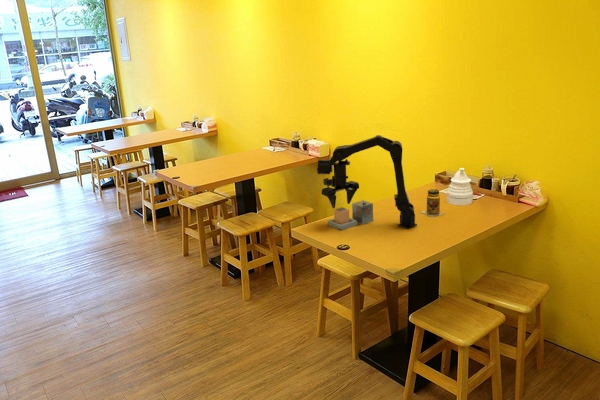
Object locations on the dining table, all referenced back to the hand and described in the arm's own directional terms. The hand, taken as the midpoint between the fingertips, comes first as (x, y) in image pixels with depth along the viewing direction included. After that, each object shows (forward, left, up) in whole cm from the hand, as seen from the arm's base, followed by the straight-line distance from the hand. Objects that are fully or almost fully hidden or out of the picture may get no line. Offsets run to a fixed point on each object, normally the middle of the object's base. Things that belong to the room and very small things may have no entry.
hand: (341, 206), depth 239 cm
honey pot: (-17, -66, -10) cm, 69 cm away
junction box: (-3, -11, -10) cm, 15 cm away
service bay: (0, 0, -10) cm, 10 cm away
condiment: (-19, -42, -10) cm, 47 cm away
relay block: (0, 0, -9) cm, 9 cm away
